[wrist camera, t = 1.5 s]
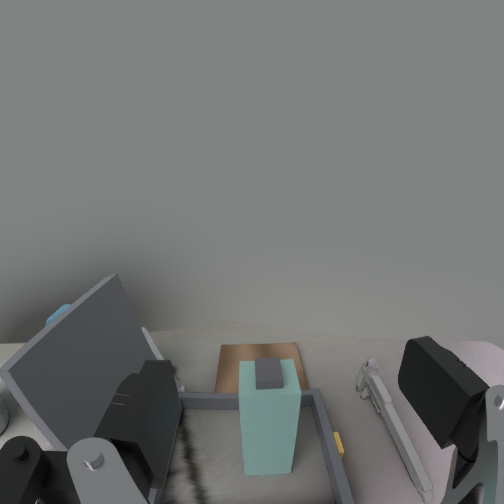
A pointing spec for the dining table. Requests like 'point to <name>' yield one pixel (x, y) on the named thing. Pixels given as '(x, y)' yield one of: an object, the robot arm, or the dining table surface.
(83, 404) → the equipment case
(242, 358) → the walnut board
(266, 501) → the dining table surface
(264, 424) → the block
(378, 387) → the caliper
